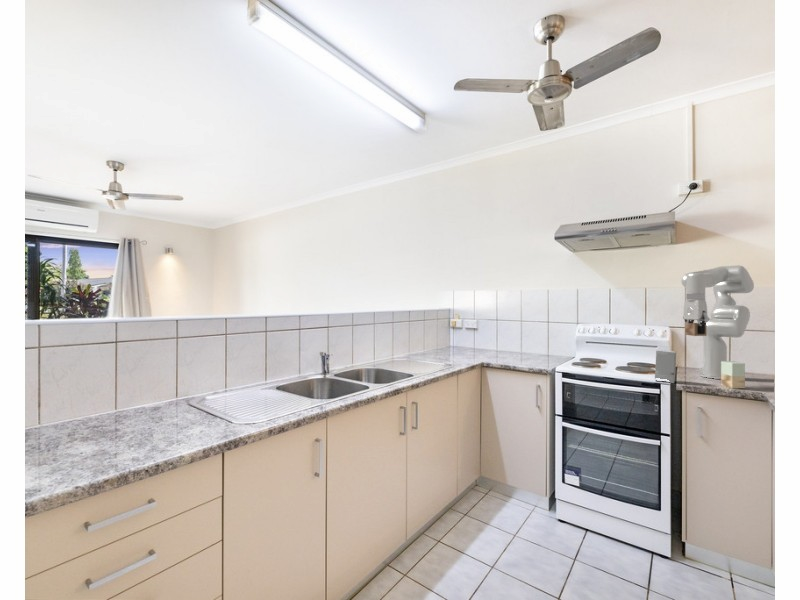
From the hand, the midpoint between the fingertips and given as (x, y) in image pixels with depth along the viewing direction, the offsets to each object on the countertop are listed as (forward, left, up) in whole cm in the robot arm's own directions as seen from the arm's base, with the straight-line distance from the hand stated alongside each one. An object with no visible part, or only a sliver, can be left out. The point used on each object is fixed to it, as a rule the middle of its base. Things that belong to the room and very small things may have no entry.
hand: (695, 332), depth 189 cm
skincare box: (-3, -13, -25) cm, 29 cm away
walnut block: (0, 0, -1) cm, 1 cm away
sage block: (+10, +10, -19) cm, 24 cm away
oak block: (+10, +10, -25) cm, 29 cm away
